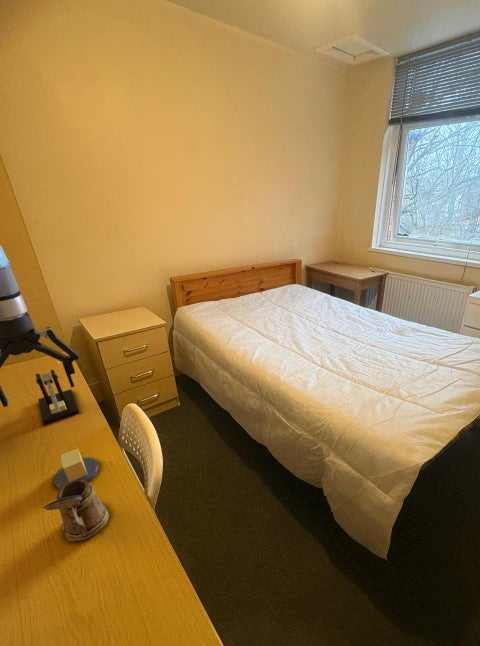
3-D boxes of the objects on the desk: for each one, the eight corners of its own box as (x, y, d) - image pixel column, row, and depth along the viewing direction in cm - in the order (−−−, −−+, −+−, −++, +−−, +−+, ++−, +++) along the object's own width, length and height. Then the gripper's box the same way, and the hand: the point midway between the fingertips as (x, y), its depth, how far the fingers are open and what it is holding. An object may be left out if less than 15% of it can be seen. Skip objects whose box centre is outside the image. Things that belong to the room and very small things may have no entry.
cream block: (67, 412, 108) (64, 405, 106) (53, 417, 106) (50, 409, 104) (66, 407, 110) (63, 400, 109) (52, 412, 108) (49, 404, 107)
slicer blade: (71, 414, 105) (70, 411, 103) (49, 421, 102) (47, 418, 100) (57, 374, 110) (56, 370, 108) (36, 380, 107) (34, 376, 105)
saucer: (46, 489, 83) (44, 486, 82) (71, 460, 91) (69, 457, 91) (85, 490, 83) (83, 487, 82) (105, 460, 91) (104, 457, 91)
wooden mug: (59, 568, 66) (25, 511, 57) (67, 515, 76) (39, 460, 68) (108, 549, 69) (83, 492, 61) (109, 500, 80) (88, 446, 72)
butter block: (69, 482, 83) (63, 468, 81) (66, 468, 87) (60, 455, 85) (87, 474, 86) (81, 461, 83) (83, 461, 90) (77, 448, 87)
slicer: (79, 413, 110) (66, 379, 104) (44, 425, 104) (28, 390, 98) (72, 392, 121) (60, 360, 115) (39, 402, 115) (25, 369, 109)
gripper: (70, 300, 81) (93, 372, 91) (-71, 322, 66) (-26, 405, 76) (75, 309, 76) (99, 383, 85) (-77, 335, 61) (-27, 421, 71)
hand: (40, 394), depth 81 cm, fingers open, 13 cm apart
